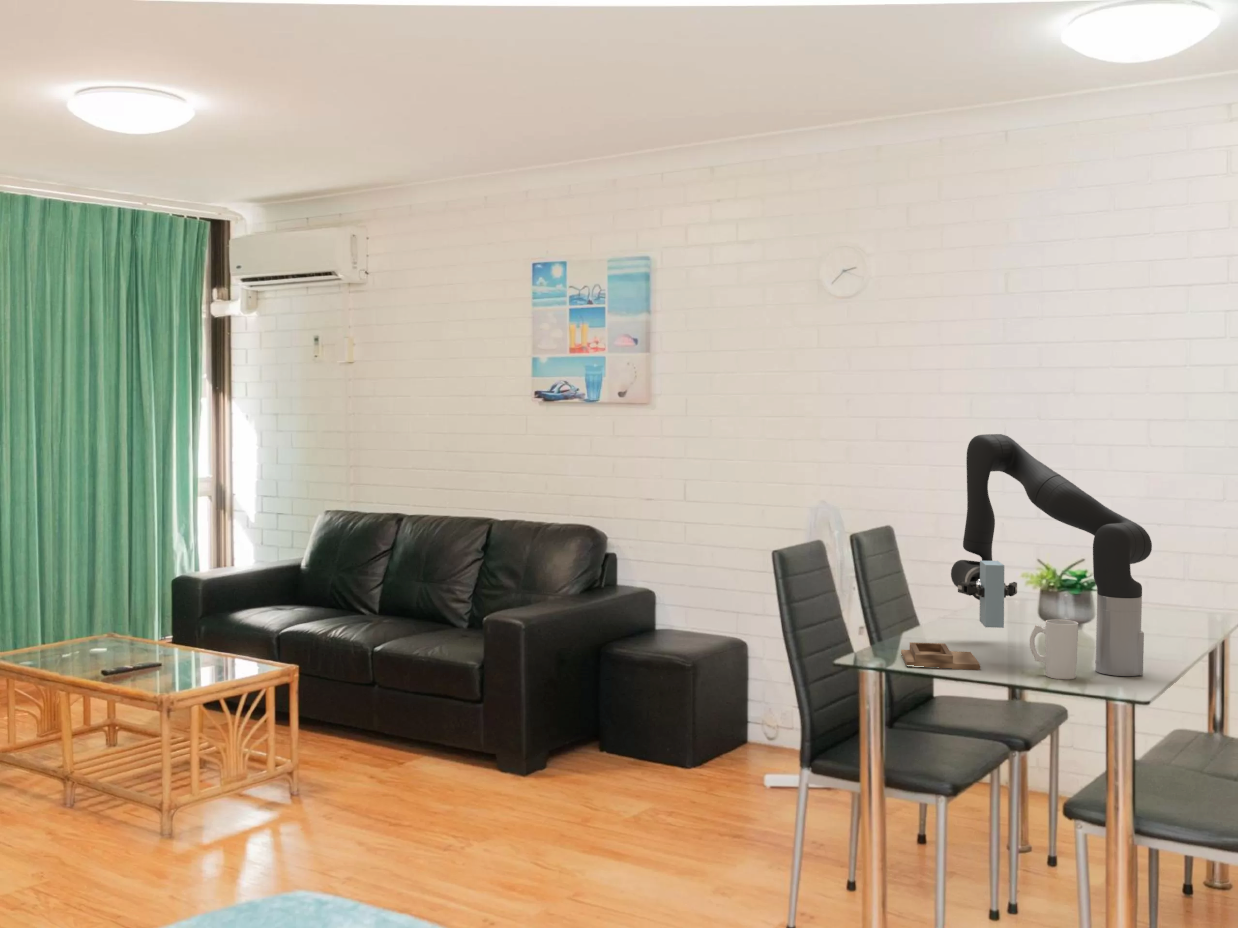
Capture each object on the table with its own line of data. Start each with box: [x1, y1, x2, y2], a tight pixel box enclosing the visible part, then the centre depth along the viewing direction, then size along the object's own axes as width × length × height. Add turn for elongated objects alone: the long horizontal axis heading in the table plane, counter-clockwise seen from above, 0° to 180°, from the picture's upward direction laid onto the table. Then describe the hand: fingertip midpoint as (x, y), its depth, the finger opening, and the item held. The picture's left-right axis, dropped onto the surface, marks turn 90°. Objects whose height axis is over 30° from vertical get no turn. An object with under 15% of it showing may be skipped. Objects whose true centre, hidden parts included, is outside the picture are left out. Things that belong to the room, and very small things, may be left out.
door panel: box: [979, 560, 1005, 629], centre depth 277 cm, size 4×9×14 cm, turn 172°
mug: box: [1029, 619, 1079, 680], centre depth 267 cm, size 10×7×12 cm, turn 60°
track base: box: [900, 641, 981, 671], centre depth 282 cm, size 16×15×3 cm
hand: (993, 592), depth 275 cm, fingers closed on door panel, 4 cm apart
